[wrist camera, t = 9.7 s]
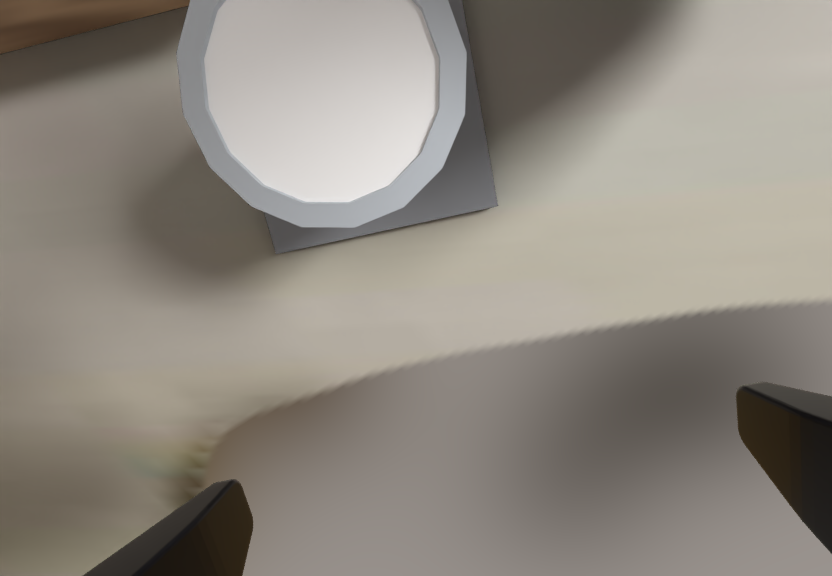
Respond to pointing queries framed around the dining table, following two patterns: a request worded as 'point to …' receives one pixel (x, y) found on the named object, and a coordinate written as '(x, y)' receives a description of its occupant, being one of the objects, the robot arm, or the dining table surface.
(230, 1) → the white cup
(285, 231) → the coaster
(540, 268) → the dining table surface
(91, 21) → the brown wooden u-shaped piece
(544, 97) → the dining table surface
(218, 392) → the dining table surface
